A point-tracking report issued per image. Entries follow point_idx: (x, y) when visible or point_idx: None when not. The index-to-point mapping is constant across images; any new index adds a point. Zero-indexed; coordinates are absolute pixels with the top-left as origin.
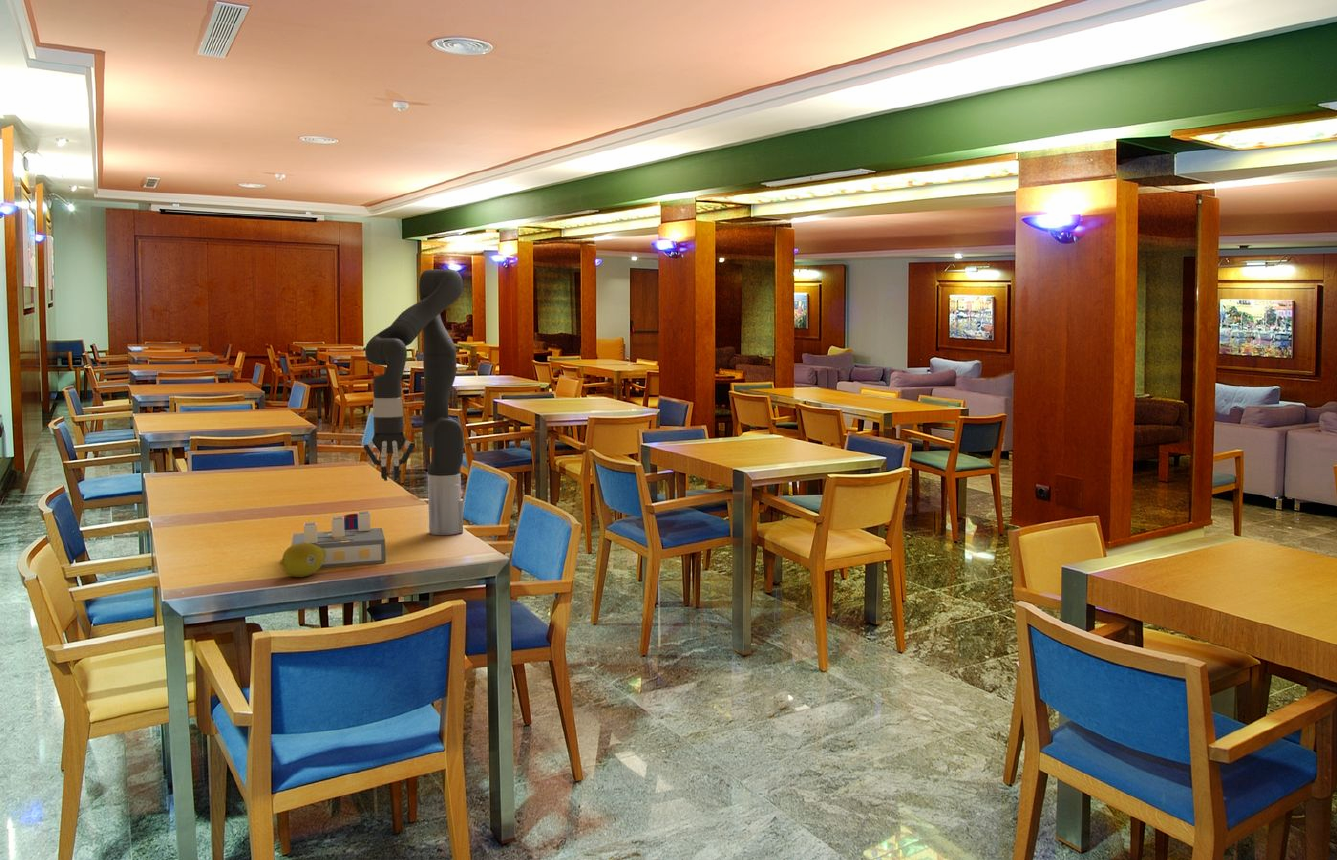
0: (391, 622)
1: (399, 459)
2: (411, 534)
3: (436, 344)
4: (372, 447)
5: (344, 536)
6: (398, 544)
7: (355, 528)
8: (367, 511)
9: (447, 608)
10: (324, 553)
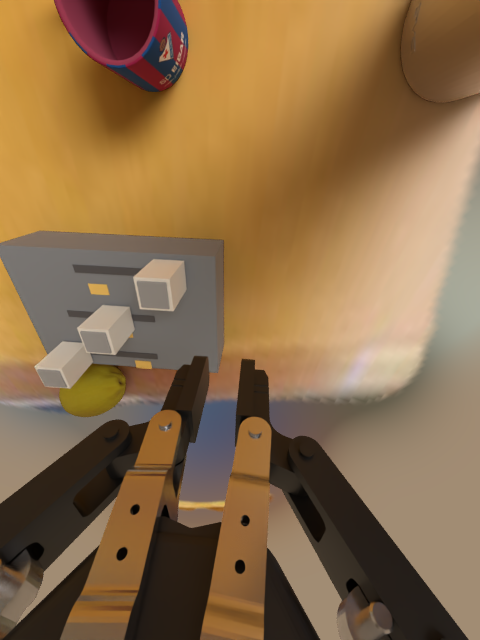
0: (218, 505)
1: (276, 467)
2: (340, 5)
3: None
4: (24, 602)
5: (134, 329)
6: (267, 185)
7: (133, 79)
8: (163, 290)
9: None
10: (121, 391)
